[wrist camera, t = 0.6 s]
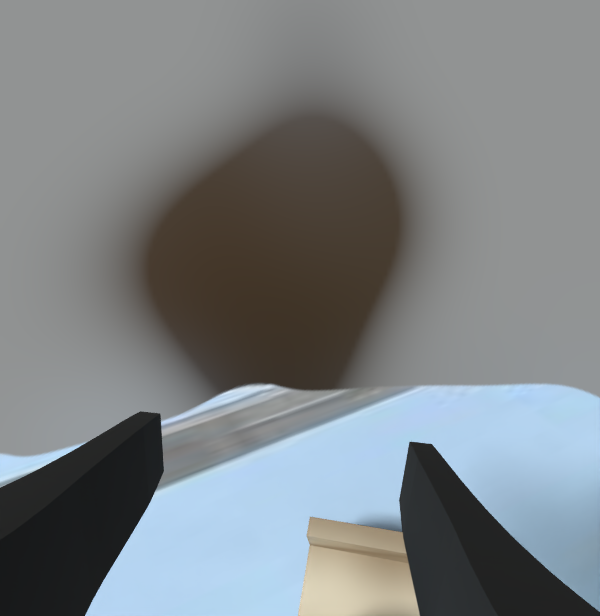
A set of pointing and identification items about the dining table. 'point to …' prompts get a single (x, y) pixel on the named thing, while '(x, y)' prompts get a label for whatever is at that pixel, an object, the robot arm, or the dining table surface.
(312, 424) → the dining table surface
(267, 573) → the dining table surface
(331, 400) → the dining table surface
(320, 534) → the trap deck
